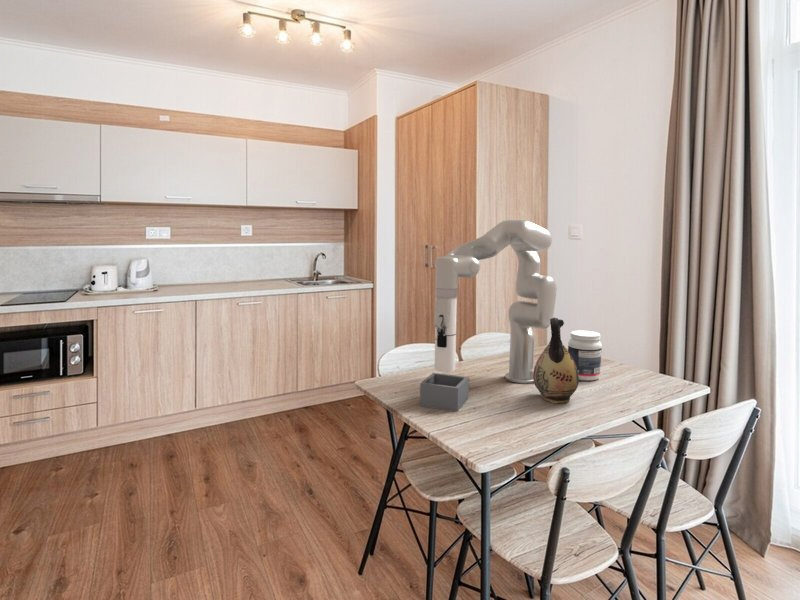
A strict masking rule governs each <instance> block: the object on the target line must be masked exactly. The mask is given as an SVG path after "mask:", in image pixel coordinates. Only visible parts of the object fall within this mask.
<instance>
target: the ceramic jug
mask: <svg viewBox="0 0 800 600" xmlns="http://www.w3.org/2000/svg"><path fill="white" fill-rule="evenodd" d="M564 325H565V322H564V319H559V318H557V317H553V318H551V319H550V330H551V331H550V333H551V337H550V340H549V342H548V344H547V345H546V347H545V348H544V350H543V351H542V352H541V354H540V355H539V357H538V358H537V360H536V362H535V365H534V367H535V368H534V374H533V380H534V382H533V384H534V386H535V388H536V389H537V390H538V392H539V393H540V394H541V396H542V398H543V400H544V401H546V402H549V403H552V404H558V403H559V404H561V403H562V404H563V403H567V402H570V400H571V396H573V394H574V393H576V391H577V389H578V387H579V384H580V383H579V382H580V380H579V376H578V370H577V367H576V364H575V362H574V360H573V358H572V357H571V355H570V354H569V352H568V348H566V347H565V345H564V344H563V342H562V339H561V328H562V327H563V326H564Z"/></svg>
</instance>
